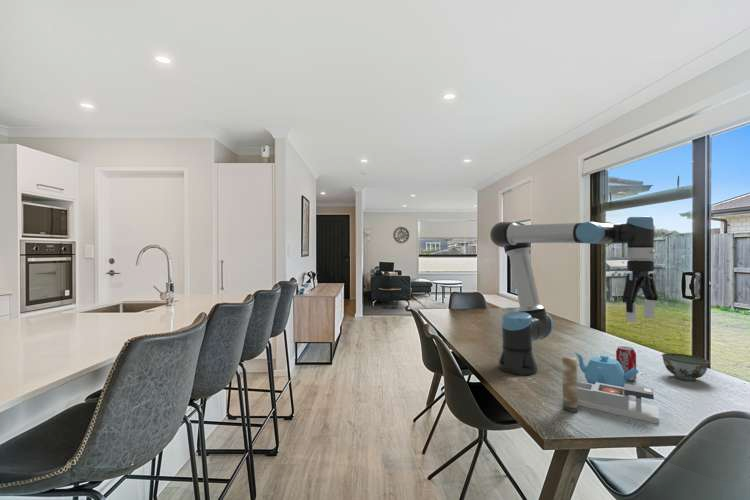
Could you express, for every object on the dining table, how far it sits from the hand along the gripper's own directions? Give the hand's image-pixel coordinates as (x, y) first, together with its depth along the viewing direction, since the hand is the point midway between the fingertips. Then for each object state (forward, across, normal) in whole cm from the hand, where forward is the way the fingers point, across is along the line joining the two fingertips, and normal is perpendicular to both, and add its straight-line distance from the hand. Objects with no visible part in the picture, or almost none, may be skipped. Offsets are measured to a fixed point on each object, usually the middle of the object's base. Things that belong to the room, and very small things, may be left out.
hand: (640, 319), depth 121 cm
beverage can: (+26, +9, +8) cm, 28 cm away
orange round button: (+22, -23, -1) cm, 31 cm away
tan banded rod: (+25, -36, +4) cm, 44 cm away
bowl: (+25, +29, -3) cm, 38 cm away
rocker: (+18, -20, -8) cm, 28 cm away
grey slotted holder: (+25, -23, -1) cm, 34 cm away
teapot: (+26, -7, +8) cm, 28 cm away
